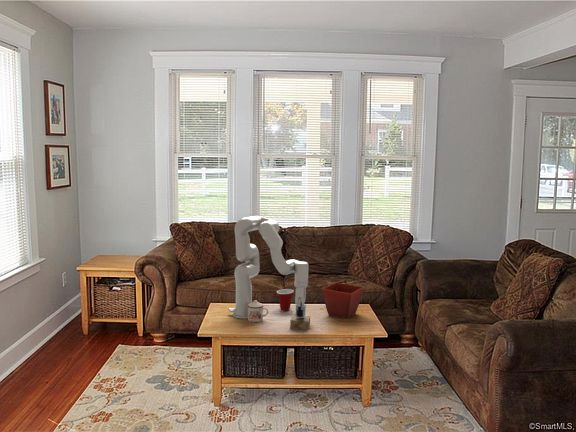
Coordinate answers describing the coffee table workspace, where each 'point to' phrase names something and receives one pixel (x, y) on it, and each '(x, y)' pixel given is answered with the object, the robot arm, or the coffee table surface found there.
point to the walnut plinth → (300, 323)
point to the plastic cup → (285, 298)
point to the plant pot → (342, 299)
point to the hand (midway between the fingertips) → (300, 314)
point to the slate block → (302, 309)
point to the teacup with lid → (256, 311)
